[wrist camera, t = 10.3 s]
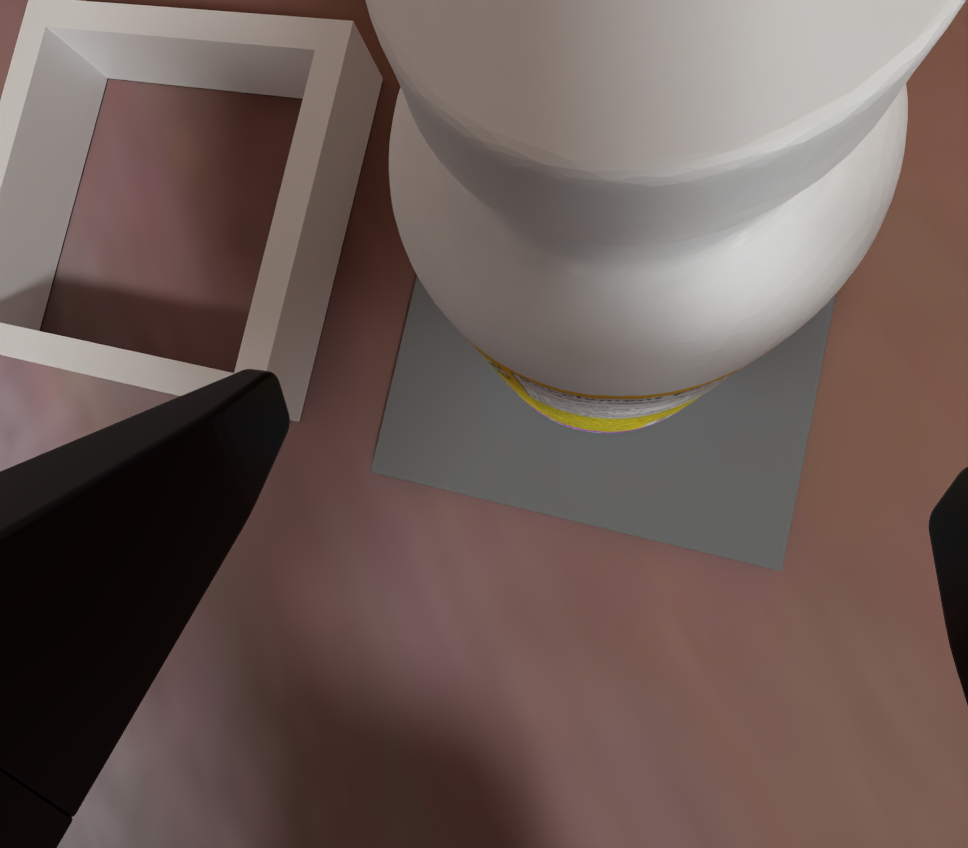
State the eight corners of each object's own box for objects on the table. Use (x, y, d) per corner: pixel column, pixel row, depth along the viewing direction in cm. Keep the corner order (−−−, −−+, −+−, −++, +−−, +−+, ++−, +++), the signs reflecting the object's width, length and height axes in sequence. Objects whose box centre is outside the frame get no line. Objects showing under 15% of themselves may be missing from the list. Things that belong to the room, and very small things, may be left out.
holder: (299, 422, 19) (255, 413, 16) (9, 355, 21) (-67, 339, 19) (382, 78, 19) (353, 20, 17) (92, 51, 22) (29, -3, 19)
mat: (775, 568, 16) (781, 571, 15) (376, 472, 18) (370, 471, 18) (856, 156, 16) (864, 147, 16) (460, 115, 19) (456, 105, 18)
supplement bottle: (505, 211, 18) (298, -461, 5) (732, 217, 16) (1228, -660, 4) (481, 426, 17) (185, 286, 4) (714, 449, 16) (1209, 344, 3)
